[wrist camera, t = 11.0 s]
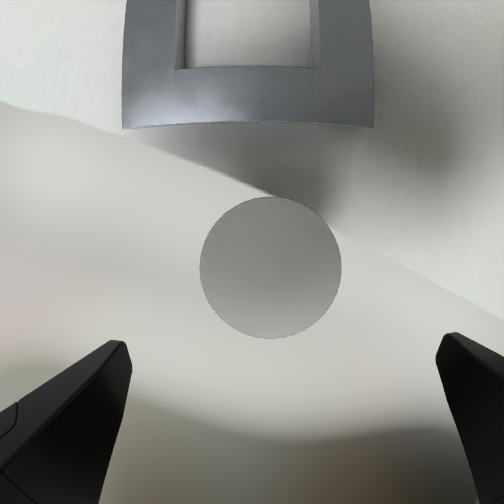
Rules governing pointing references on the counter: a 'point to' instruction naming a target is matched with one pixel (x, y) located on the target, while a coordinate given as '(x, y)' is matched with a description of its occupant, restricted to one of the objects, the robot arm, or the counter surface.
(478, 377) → the robot arm
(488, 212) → the counter surface
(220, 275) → the light bulb
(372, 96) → the socket collar
